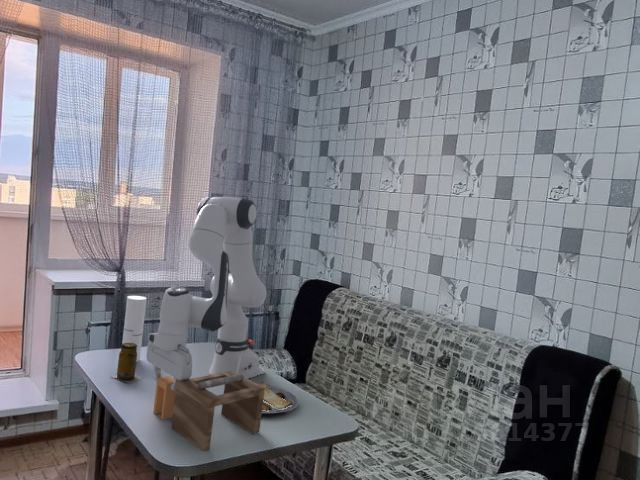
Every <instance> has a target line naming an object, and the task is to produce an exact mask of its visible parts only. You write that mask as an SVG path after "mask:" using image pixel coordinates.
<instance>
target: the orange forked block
mask: <svg viewBox="0 0 640 480" xmlns="http://www.w3.org/2000/svg"><path fill="white" fill-rule="evenodd" d="M174 381H175V380H174V377H172V376H171V375H167V376H162V377H161V378H157V381H156V385H155V396H154V402H153V403H154V405H153V414H154V415H156V414H160V413H161V417H160V419H162V420H166V419H170V418H172V417H173V409H174V400H175V392H176V391H173V390H171V384H173V383H174Z"/></svg>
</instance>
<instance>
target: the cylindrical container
mask: <svg viewBox="0 0 640 480" xmlns="http://www.w3.org/2000/svg"><path fill="white" fill-rule="evenodd" d="M126 297H127V298H126V307H125V317H124V326H123V332H122V333H123V335H122V341H121V343H122V344H123V343H134V344H136V345H137V351H136V352H137V360H136V363H139V362H140V361H141V360H140V359H141V351H142V343H143V335H144V334H143V333H144V325H145V314H146V309H147V297H146V296H141V295H128V296H126ZM122 344H121V345H122Z"/></svg>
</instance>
